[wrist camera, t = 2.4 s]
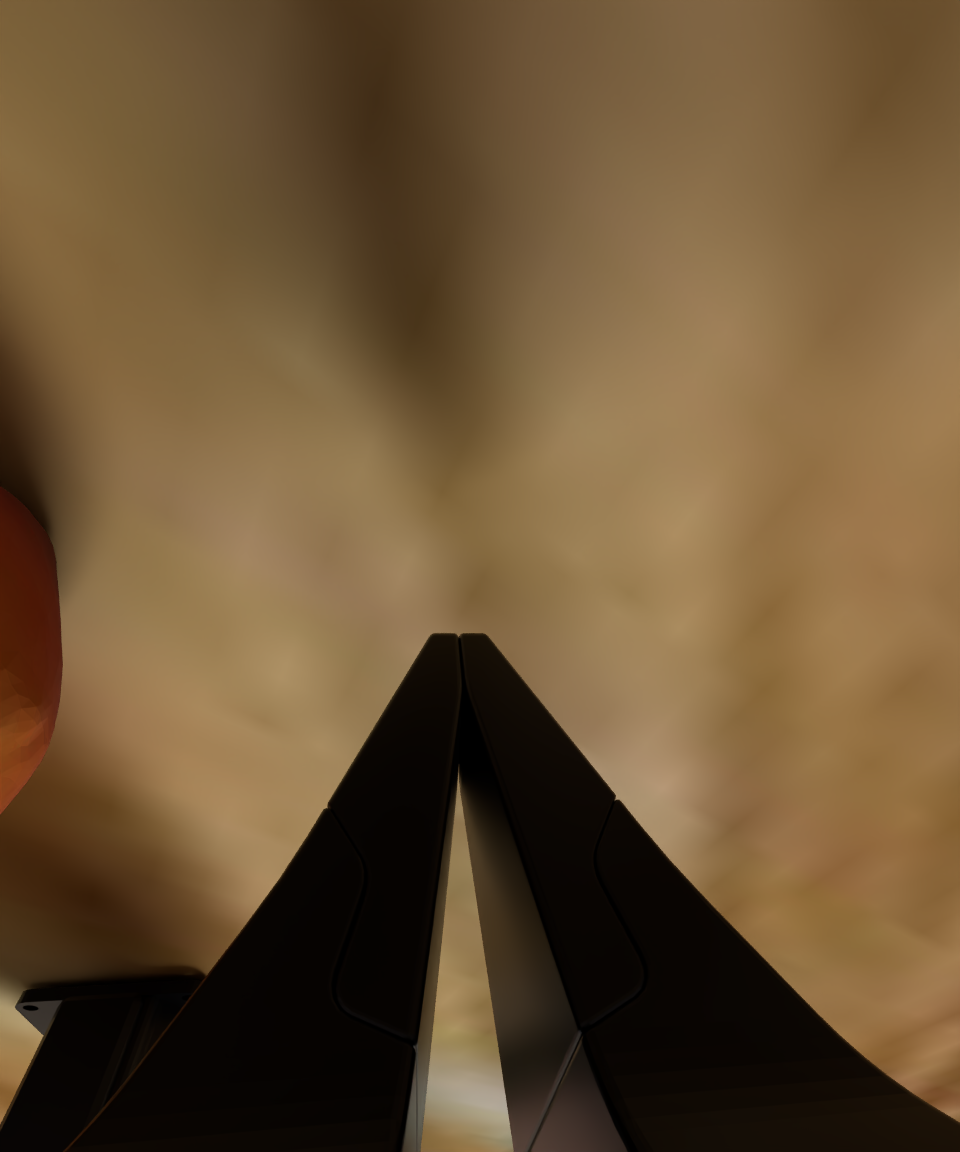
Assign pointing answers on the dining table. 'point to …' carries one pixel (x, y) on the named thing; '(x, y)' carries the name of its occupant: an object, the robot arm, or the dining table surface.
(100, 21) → the dining table surface
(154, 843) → the dining table surface
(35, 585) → the fruit
